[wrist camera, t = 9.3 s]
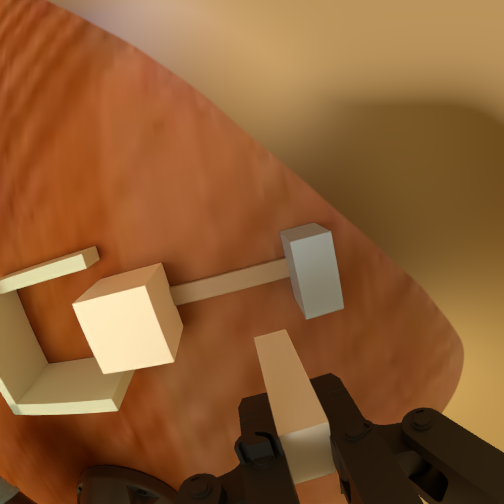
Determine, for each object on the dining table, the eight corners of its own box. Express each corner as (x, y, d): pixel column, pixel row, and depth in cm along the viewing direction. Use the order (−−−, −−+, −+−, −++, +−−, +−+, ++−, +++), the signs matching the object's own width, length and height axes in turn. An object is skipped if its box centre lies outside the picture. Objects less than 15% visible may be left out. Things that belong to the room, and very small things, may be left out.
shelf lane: (45, 373, 28) (14, 414, 21) (3, 276, 25) (-43, 301, 18) (138, 360, 28) (118, 410, 21) (95, 245, 26) (54, 270, 18)
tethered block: (123, 339, 28) (103, 374, 22) (100, 279, 26) (71, 304, 20) (327, 288, 28) (351, 316, 22) (314, 222, 27) (337, 235, 21)
